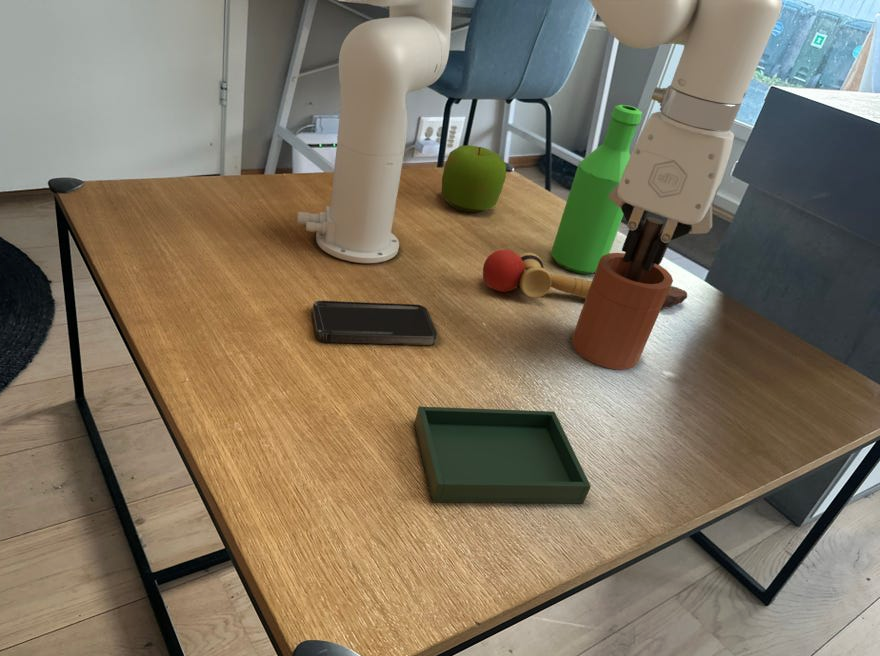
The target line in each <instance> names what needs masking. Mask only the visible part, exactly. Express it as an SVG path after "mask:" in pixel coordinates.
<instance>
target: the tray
mask: <svg viewBox="0 0 880 656" xmlns="http://www.w3.org/2000/svg"><path fill="white" fill-rule="evenodd" d="M414 426H415V430H416V435H417V439H418V443H419V448H420V452H421V457H422V460H423V465H424V470H425V474H426V477H427V481H428V486H429V491H430V496H431V499H432V503H482V504H483V503H489V504H490V503H491V504H493V503H495V504H496V503H498V504H499V503H500V504H501V503H502V504H584V503H585V501H586V499H587V496H588V494H589V491H590V489H591V487H592V486H591V483H590V482H589V479H588V477H587V475H586V474H585V471H584V468H583V467H582V465H581V463H580V460H579V459H578V457H577V455H576V453H575V451H574V449H573V447H572V444H571V442H570V440H569V439H568V436H567V434H566V432H565V430H564V428H563V427H562V424H561V421H560V420H559V418H558V416H557V414H556V412H555V411H551V410H550V411H548V410H523V409H500V408H499V409H497V408H473V407H472V408H470V407H469V408H468V407H446V406H443V407H442V406H441V407H440V406H418V407H417V412H416V415H415V420H414Z"/></svg>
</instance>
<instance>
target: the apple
mask: <svg viewBox="0 0 880 656" xmlns="http://www.w3.org/2000/svg"><path fill="white" fill-rule="evenodd" d="M506 179H507V163H506V162H505V160H504V159H503V157H502V156H500V155H499V154H498V153H497V152H495V151H493V150H492V149H488V148H485V147H482V146H477V145H471V144H470V145H469V144H466V145H460V146H458V147H456V148H455V149H453V150H452V151H450V152H449V154H448V155H447V159H446V161H445V163H444V166H443V171H442V178H441V194H442V196H443V198H444V199H445V200H446V202H447V203H448V204H449V205H450V206H451V207H453V208H454V209H456V210H458V211H460V212H464V213H465V212H466V213H478V212H482V211H486V210H489V209H492V208H494V207H495V206H496V205H497V203H498V200H499V198H500V196H501V193H502V190H503V187H504V184H505V182H506Z"/></svg>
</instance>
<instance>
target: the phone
mask: <svg viewBox="0 0 880 656" xmlns="http://www.w3.org/2000/svg"><path fill="white" fill-rule="evenodd" d="M311 312H312V319H313V325H314V330H315V337H316V339H317V340H319V341H320V342H323V343H338V344H339V343H344V344H345V343H347V344H376V345H377V344H378V345H379V344H382V345H418V346H419V345H420V346H431V345H434V344H436V342H437V337H438V331H437V329H436V327H435V324H434V321H433V319H432V317H431V315H430V312H429V310H428V308H427V307H426V306H424V305H422V304H414V303H413V304H411V303H410V304H409V303H390V302H389V303H388V302H387V303H386V302H367V301H365V302H363V301H362V302H361V301H339V300H338V301H337V300H316V301H314V302H313V303H312V311H311Z"/></svg>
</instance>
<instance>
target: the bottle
mask: <svg viewBox="0 0 880 656" xmlns="http://www.w3.org/2000/svg"><path fill="white" fill-rule="evenodd" d="M642 115H643V113H642V111H641V110H639V108H637V107H635V106H632V105H629V104H628V105H626V104H618V105H617V104H616V105H615V106H614V108H613V110H612V112H611V114H610V117H611V118H610V121H609V124H608V127H607V130H606V133H605V137H604V139H603V142H602V143H601V144H600V145H599V146H598V147H596V148H595V149H594V150H593V151H592V152H590V153H589V154H588V155H587V156H586V157H584V158H583V159H582V160H581V161H580V162H579V163H578V165H577V168H576V171H575V175H574V178H573V181H572V184H571V187H570V190H569V194H568V196H567V199H566V204H565V206H564V209H563V213H562V216H561V219H560V222H559V225H558V229H557V232H556V235H555V239H554V241H553V245H552V247H551V256H552V258H553V259H554V260H555V261H556V263H557V264H558V265H559V266H560V267H561V268H564V269H565V270H567V271H571V272H574V273H576V274H583V275H587V274H588V275H589V274H595V272H596V269H597V266H598V264H599V261H600V259H601V257H602V256H604V255H606V254H609V253H611V250H612V247H613V245H614V242H615V240H616V236H617V233H618V231H619V229H620V226H621V223H622V220H623V217H624V214H623V212H622V210H621V208H620V207H618V206H617V205H616V204H615V203H614V202H613V201H611V200H610V199H609V193H610V192H611V191H612V190H613V189H614V188H615V187H616V185H617V184H618V183H619V182H620V180H621V178H622V175H623V173H624V170H625V168H626V165H627V163H628V161H629V158H630V156H631V153H630V147H631V144H632V141H633V139H634V136H635V133H636V130H637V127H638V125H639V124H640V123H641V122H642Z"/></svg>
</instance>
